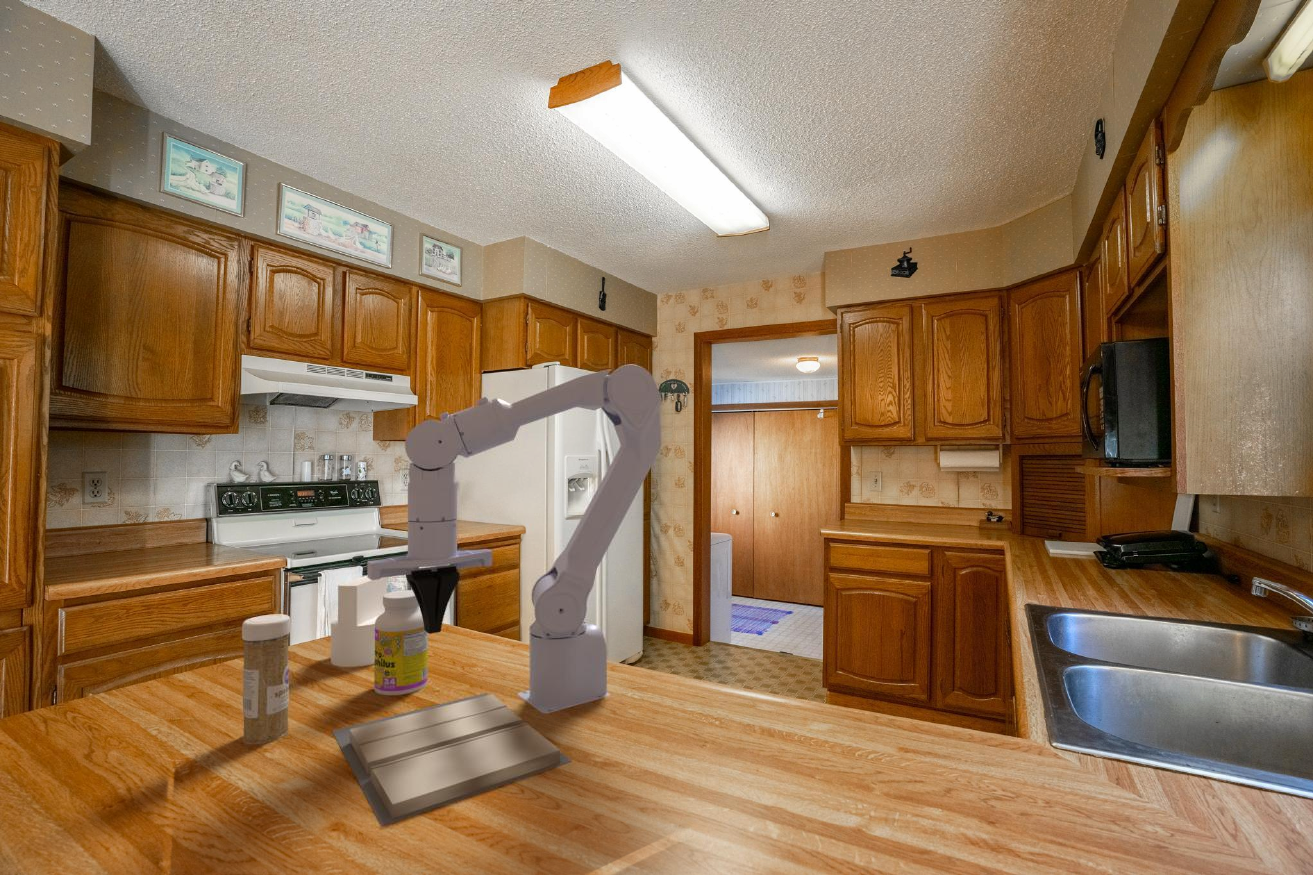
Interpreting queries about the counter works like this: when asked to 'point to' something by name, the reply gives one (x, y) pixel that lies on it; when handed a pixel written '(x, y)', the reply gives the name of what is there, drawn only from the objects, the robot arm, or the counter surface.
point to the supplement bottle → (400, 646)
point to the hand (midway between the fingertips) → (432, 631)
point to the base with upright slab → (357, 621)
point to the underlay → (365, 779)
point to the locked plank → (461, 768)
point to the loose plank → (430, 730)
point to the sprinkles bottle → (265, 678)
